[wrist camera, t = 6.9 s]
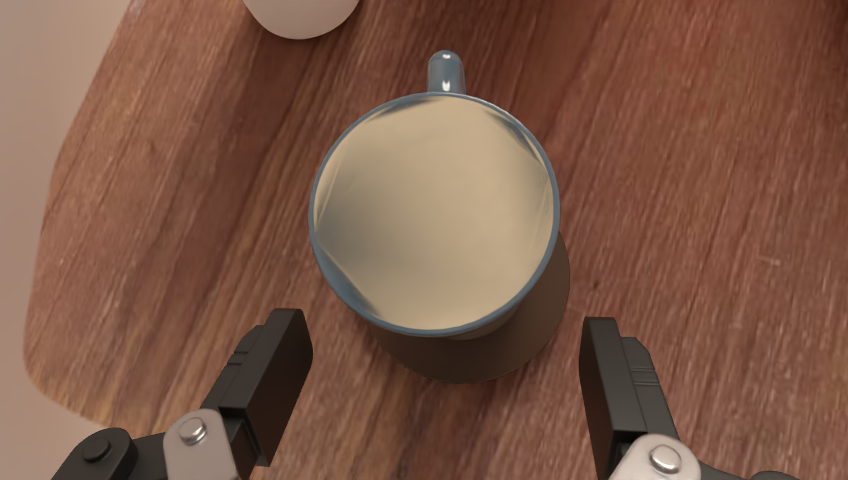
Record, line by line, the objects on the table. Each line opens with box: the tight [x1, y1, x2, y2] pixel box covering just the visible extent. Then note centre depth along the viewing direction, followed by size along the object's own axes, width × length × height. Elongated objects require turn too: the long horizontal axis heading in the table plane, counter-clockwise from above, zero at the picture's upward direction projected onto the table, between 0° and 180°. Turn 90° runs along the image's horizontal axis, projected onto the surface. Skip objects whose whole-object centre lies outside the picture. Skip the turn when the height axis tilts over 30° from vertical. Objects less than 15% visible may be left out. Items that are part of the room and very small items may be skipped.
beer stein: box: [308, 50, 561, 340], centre depth 18 cm, size 6×9×11 cm
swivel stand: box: [365, 232, 570, 384], centre depth 24 cm, size 10×10×2 cm
